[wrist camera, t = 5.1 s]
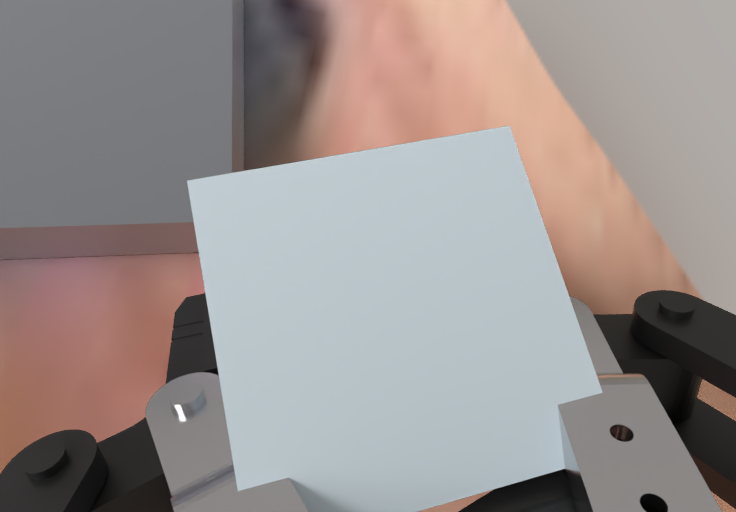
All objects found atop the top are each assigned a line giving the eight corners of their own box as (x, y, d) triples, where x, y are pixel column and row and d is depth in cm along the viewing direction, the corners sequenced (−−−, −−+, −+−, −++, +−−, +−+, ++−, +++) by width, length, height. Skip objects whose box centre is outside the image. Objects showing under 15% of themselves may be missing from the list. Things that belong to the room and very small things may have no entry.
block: (287, 468, 15) (248, 561, 6) (259, 317, 16) (186, 180, 7) (435, 429, 16) (623, 451, 6) (398, 287, 17) (510, 126, 8)
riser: (-95, 263, 17) (-176, 233, 15) (-45, -9, 21) (-103, -77, 18) (244, 250, 19) (231, 220, 16) (243, -5, 22) (232, -68, 19)
